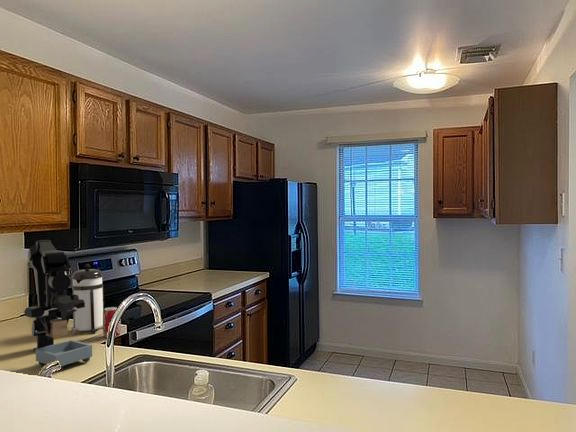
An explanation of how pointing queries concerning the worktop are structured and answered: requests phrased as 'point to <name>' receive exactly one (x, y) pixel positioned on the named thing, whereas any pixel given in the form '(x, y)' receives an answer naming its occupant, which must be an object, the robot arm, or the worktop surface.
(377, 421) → the worktop surface
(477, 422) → the worktop surface
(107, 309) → the soda can
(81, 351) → the cart
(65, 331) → the walnut block
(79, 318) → the coffee press
